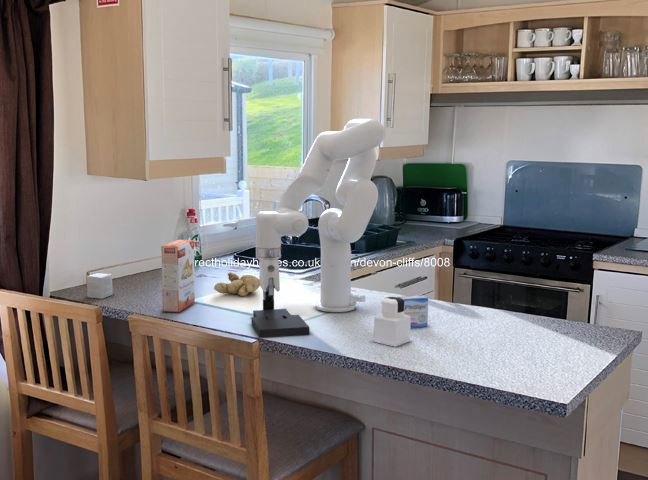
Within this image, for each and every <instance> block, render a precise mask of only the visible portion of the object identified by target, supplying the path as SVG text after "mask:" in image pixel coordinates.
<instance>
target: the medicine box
mask: <svg viewBox="0 0 648 480" xmlns="http://www.w3.org/2000/svg"><path fill="white" fill-rule="evenodd" d="M398 297H399V298H401V299H403V300H404V315H409V316H411V324H410V329H413V328H415V329H417V328H426V327H428V323H429V320H428V319H429V316H428V315H429V298H428V297H427V296H426V295H424V294H421V295H419V294H418V295H403V296H401V295H400V296H398Z"/></svg>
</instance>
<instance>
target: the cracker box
mask: <svg viewBox="0 0 648 480" xmlns="http://www.w3.org/2000/svg"><path fill="white" fill-rule="evenodd" d="M160 247H161V249H160V250H161V287H162V288H161V295H162V296H161V297H162V299H161V301H162V312H166V313H180V312H182V311H183V310H185V309H187V308H188V307H191V306H192V305H193V304H195V303H196V296H195V291H196V289H195V288H196V287H195V282H196V281H195V240H193V239H176V240H174V241H171V242H168V243H166V244H163V245H161V246H160Z"/></svg>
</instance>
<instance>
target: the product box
mask: <svg viewBox="0 0 648 480" xmlns="http://www.w3.org/2000/svg"><path fill="white" fill-rule="evenodd" d="M86 294H87V298H90V299H99V300H100V299H102V300H103V299H105V298H109V297H111V296H113V295H114V291H113V275H112V273H100V272H96V273H93V274H90V275H86Z"/></svg>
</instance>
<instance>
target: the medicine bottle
mask: <svg viewBox="0 0 648 480" xmlns="http://www.w3.org/2000/svg"><path fill="white" fill-rule="evenodd" d="M399 297H400V296H387V297H384V298H382V299H381V308H380V309H381V314H379V315H378V314H377V315H376V316H374V322H373V323H374V326H373V331H374V332H373V342H374V343H378V344H381V345H387V346H391V347H395V348H397V347H399V346H402V345H404V344H406V343H408V342H411V328H410V324H411V316H409V315H404V300H403V299H401V298H399Z"/></svg>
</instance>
